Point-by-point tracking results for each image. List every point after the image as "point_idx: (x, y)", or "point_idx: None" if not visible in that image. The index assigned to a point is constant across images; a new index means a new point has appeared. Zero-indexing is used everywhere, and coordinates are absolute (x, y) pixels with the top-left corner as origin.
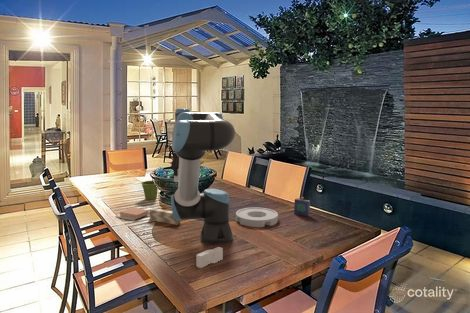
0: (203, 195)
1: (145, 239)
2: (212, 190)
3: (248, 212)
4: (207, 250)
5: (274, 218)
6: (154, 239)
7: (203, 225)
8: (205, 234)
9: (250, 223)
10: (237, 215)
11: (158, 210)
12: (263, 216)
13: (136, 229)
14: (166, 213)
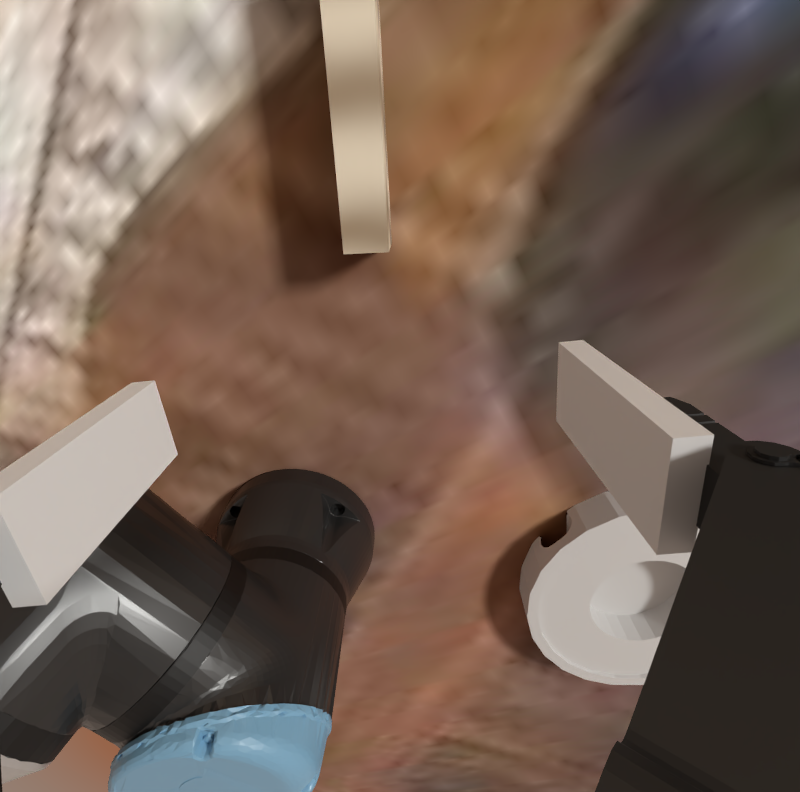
0: (109, 739)
1: (50, 234)
2: (200, 784)
3: (661, 560)
4: None
5: (601, 679)
6: (88, 282)
7: (235, 537)
8: (216, 542)
9: (523, 599)
10: (571, 542)
11: (337, 16)
12: None
13: (110, 28)
14: (333, 139)
